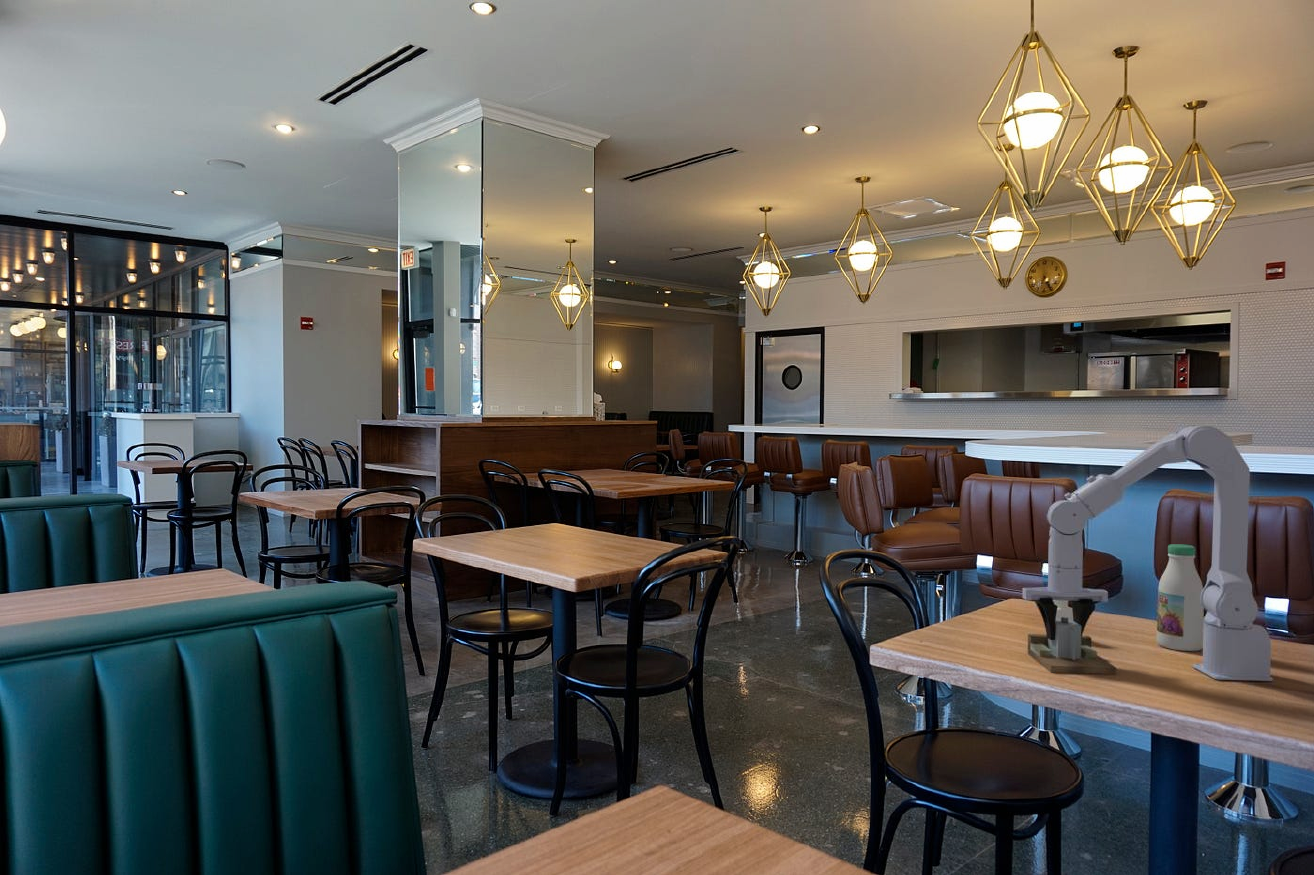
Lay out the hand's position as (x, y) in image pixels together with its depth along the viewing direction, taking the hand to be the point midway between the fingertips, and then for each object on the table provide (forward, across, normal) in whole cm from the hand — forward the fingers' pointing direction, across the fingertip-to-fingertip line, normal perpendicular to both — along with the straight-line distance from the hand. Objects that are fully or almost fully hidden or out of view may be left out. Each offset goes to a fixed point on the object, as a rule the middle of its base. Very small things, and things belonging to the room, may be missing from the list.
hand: (1063, 639), depth 158 cm
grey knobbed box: (+3, 0, +1) cm, 3 cm away
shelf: (+4, 0, +2) cm, 4 cm away
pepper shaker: (+4, -6, -17) cm, 19 cm away
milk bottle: (+4, -26, -12) cm, 30 cm away
